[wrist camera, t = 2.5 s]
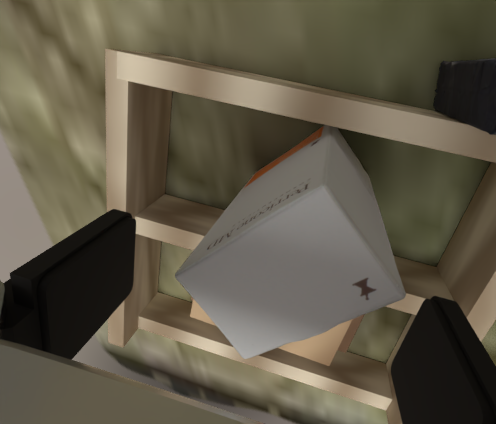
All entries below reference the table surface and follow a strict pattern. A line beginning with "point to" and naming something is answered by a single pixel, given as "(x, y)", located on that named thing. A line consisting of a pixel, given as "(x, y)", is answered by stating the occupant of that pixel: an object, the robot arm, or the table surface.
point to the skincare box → (295, 250)
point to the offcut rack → (204, 217)
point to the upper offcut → (311, 348)
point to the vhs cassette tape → (468, 92)
